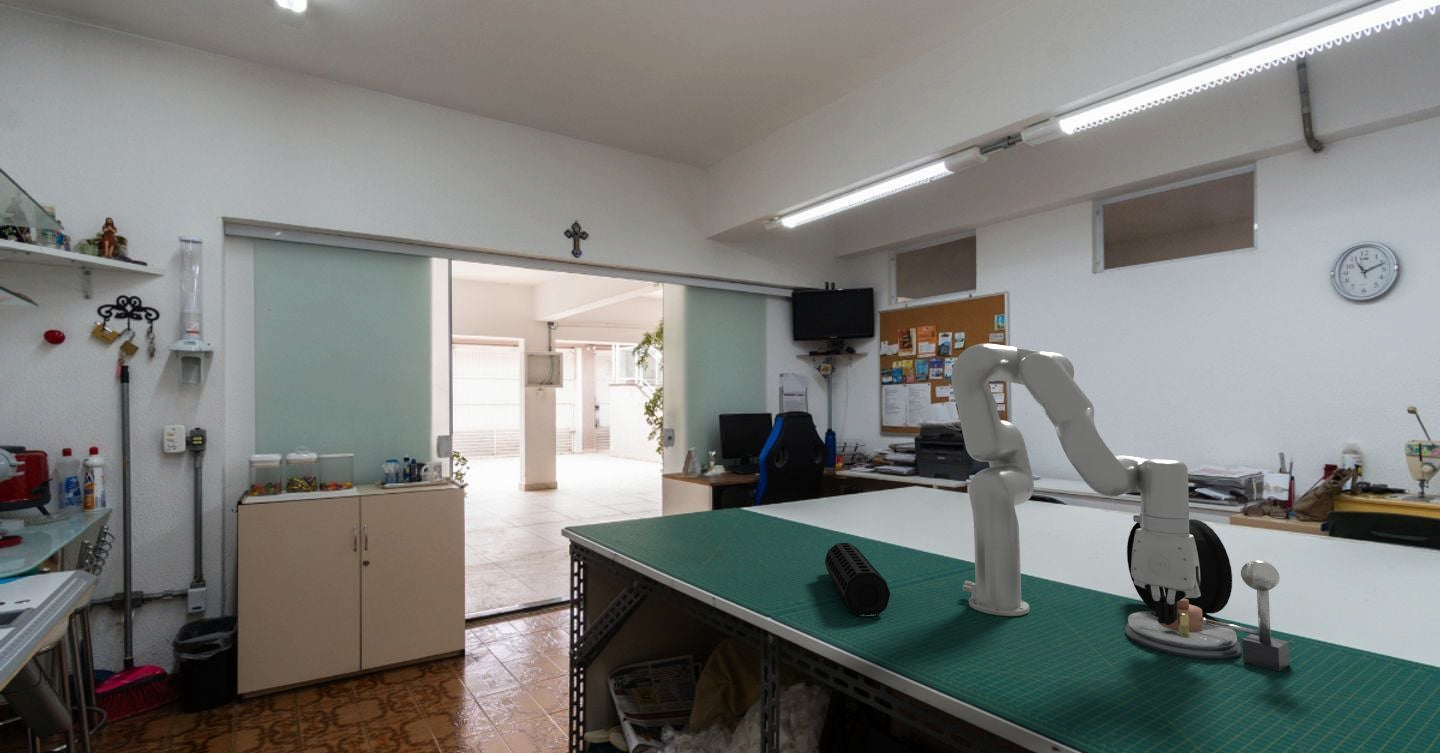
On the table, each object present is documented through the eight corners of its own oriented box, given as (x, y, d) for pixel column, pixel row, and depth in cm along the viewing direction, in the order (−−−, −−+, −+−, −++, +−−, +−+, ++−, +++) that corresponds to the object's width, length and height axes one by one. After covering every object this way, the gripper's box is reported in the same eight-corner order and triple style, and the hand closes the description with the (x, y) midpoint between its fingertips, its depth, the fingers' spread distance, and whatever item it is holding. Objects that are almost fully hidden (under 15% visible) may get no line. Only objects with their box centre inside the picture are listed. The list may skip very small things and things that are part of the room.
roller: (816, 566, 176) (827, 532, 177) (850, 577, 176) (861, 542, 176) (839, 611, 138) (853, 566, 139) (883, 625, 138) (896, 580, 138)
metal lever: (1196, 649, 119) (1192, 552, 120) (1207, 643, 122) (1203, 548, 122) (1279, 671, 109) (1274, 565, 110) (1289, 664, 112) (1284, 561, 113)
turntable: (1130, 639, 120) (1129, 609, 121) (1126, 613, 135) (1125, 587, 135) (1245, 656, 112) (1244, 625, 112) (1228, 627, 126) (1227, 599, 126)
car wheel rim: (1234, 627, 131) (1230, 528, 132) (1182, 626, 131) (1178, 528, 132) (1173, 597, 151) (1169, 512, 151) (1128, 596, 151) (1125, 512, 152)
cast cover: (1160, 628, 122) (1159, 601, 122) (1156, 617, 128) (1155, 592, 128) (1206, 634, 119) (1204, 606, 119) (1199, 622, 125) (1198, 596, 125)
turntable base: (1108, 637, 126) (1108, 630, 126) (1150, 619, 136) (1149, 613, 136) (1218, 667, 111) (1218, 660, 111) (1256, 645, 121) (1255, 638, 121)
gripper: (1113, 520, 125) (1114, 615, 124) (1203, 534, 113) (1206, 639, 112) (1130, 516, 129) (1132, 608, 129) (1219, 529, 117) (1222, 630, 116)
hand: (1166, 622), depth 120 cm, fingers closed
